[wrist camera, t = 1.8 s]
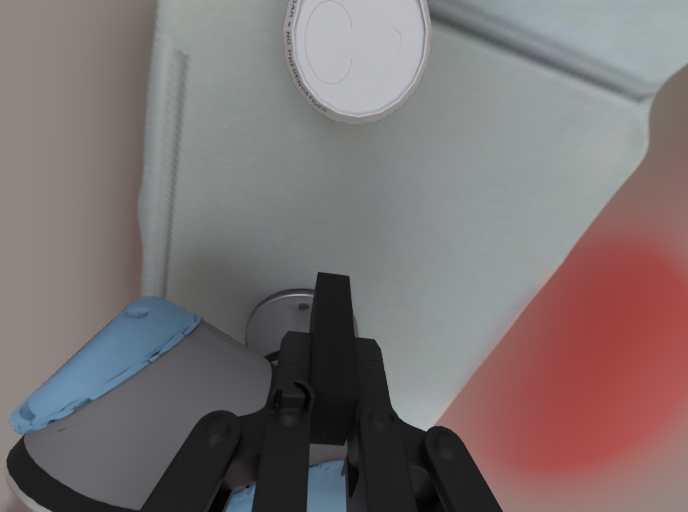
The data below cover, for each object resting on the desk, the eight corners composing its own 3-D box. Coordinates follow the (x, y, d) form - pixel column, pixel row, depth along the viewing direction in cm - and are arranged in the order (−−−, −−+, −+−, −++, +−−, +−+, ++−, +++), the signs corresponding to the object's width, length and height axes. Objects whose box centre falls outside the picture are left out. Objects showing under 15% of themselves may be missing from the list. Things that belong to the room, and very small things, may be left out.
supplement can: (304, 103, 32) (287, 130, 19) (298, -5, 28) (271, -65, 15) (388, 102, 32) (428, 128, 19) (394, -5, 28) (450, -65, 15)
